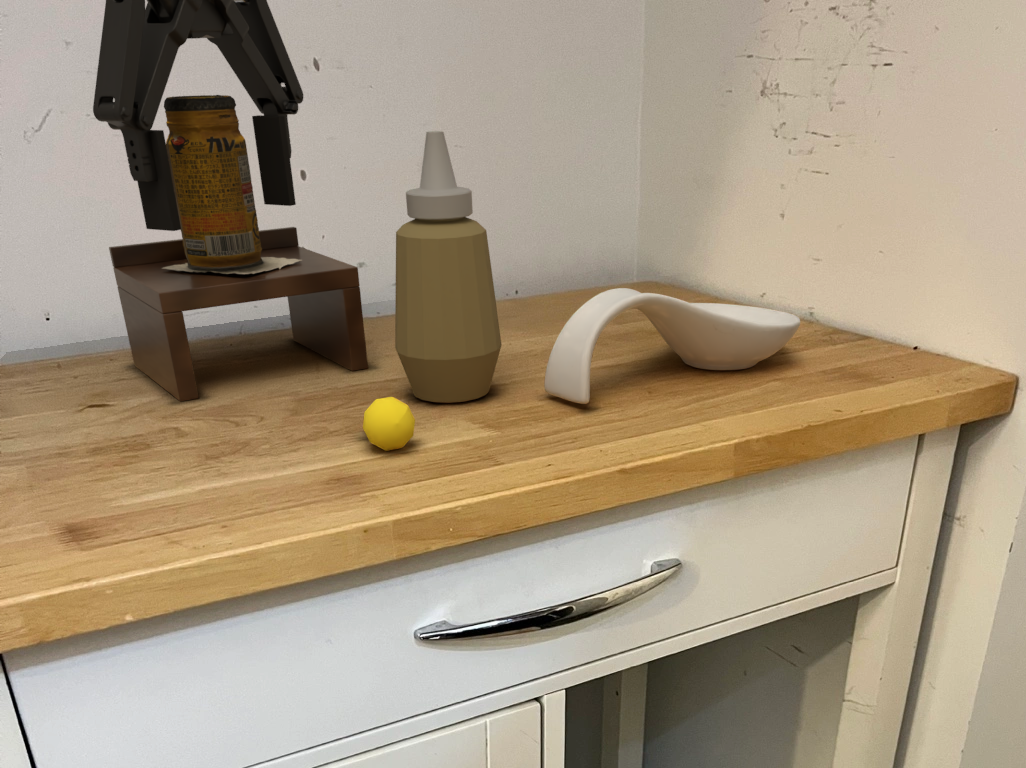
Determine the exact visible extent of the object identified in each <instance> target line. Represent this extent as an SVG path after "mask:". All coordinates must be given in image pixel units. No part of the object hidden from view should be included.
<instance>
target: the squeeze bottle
mask: <svg viewBox="0 0 1026 768" xmlns="http://www.w3.org/2000/svg"><path fill="white" fill-rule="evenodd" d="M423 148H424V149H423V158H422V166H421V173H420V182H419V187H416V188H412V189H409V190H406V192H405V199H406V200H405V201H406V214H407V216H408V217H409V218H411V219H412V220H410V221H408V222H406V223H404V224H402V225H401V226H400V227H399V229H397V230H396V231H395V300H394V301H395V304H394V305H395V311H394V312H395V314H394V315H395V317H394V319H395V321H394V322H395V323H394V334H395V335H394V348H395V350H396V354H397V356H398V358H399V361H400V363H401V365H402V366H401V367H402V368H403V370H404V374H405V376H406V378H407V380H408V383H409V385H410V388H411V390H412V394H413V395H414V397H416V398H418V399H419V400H422V401H426V402H433V403H446V404H447V403H450V404H451V403H461V402H462V403H463V402H468V401H472V400H476V399H477V400H478V399H479V398H483V397H484V396H486V395H487V394H488V393H489V392H490V389H491V386H492V381H493V378H494V374H495V370H496V366H497V363H498V359H499V357H500V353H501V348H502V338H501V337H502V336H501V330H500V323H499V316H498V314H499V313H498V308H497V301H496V294H495V293H496V292H495V286H494V285H495V284H494V277H493V271H492V261H491V255H490V248H489V247H490V246H489V240H488V233H487V232H488V231H487V229H486V228H485V227H484V226H483V225H481V224H480V222H478V220H476V219H475V220H474V219H472V218H469V217H470V216H471V215H472V214H473V213H474V211H473V192H472V190H471V189H470V188H469V187H463V186H458V185H457V180H456V176H455V173H454V169H453V165H452V160H451V156H450V151H449V148H448V145H447V141H446V136H445V132H444V131H443V130H433V131H431V130H430V131H426V133H425V141H424V147H423Z"/></svg>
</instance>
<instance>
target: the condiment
mask: <svg viewBox="0 0 1026 768" xmlns="http://www.w3.org/2000/svg"><path fill="white" fill-rule="evenodd" d="M236 106H237V103H236V100H235V98H234V97H232V96H231V95H226V94H225V95H223V94H222V95H221V94H213V95H212V94H210V95H205V94H203V95H201V94H200V95H178V96H177V95H176V96H167V97H166V98H165V99H164V100H163V109H164V110H165V111H164V113H165V118H166V122H165V124H166V127H167V128H168V131H169V133H168V135H167V138H166V140H165V142H166V148H167V154H168V159H169V165H170V170H171V176H172V181H173V187H174V192H175V198H176V204H177V209H178V215H179V220H180V226H181V230H180V232H181V239H183V246H184V251H185V255H186V258H187V260H188V263H185V264H181V265H172V266H168V267H164V268H162V269H170V270H177V271H186V272H194V271H195V272H214V273H222V274H231V273H237V274H255V273H259V272H262V271H269V270H272V269H275V268H279V269H280V268H281V267H283V266H285V265H287V264H293V263H295V262H297V261H301V260H298V259H286V258H275V257H261V250H262V248H261V242H260V236H259V231H260V228H259V221H258V215H257V210H256V201H255V196H254V190H253V189H254V188H253V183H252V175H251V168H250V167H251V166H250V162H249V156H248V148H247V142H246V139H245V137H244V136H243V134H242V133H241V131H240V122H239V121H240V120H239V119H238V116H237V110H236Z"/></svg>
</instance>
